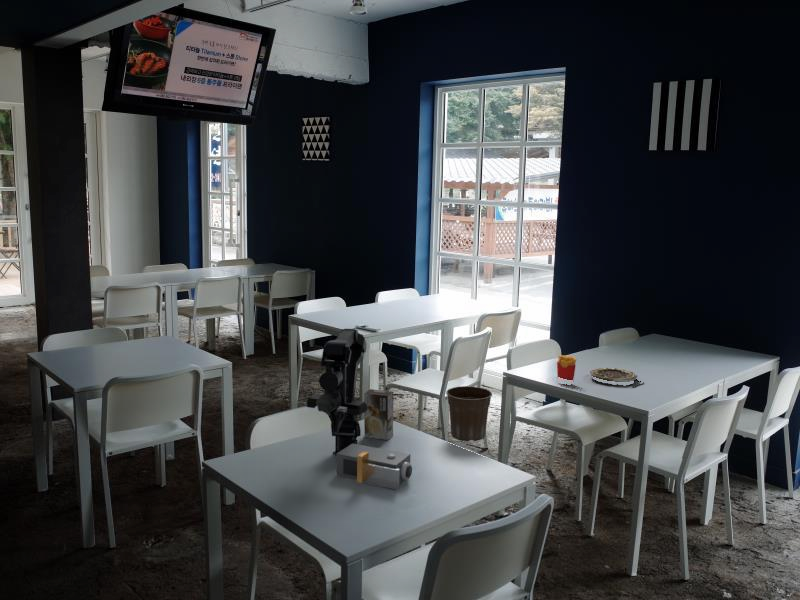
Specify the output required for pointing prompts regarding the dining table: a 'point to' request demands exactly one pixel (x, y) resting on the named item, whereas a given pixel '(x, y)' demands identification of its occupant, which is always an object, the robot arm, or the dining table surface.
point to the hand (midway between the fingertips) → (336, 431)
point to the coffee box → (378, 414)
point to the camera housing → (372, 461)
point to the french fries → (566, 367)
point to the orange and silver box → (376, 473)
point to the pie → (613, 374)
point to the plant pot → (468, 412)
